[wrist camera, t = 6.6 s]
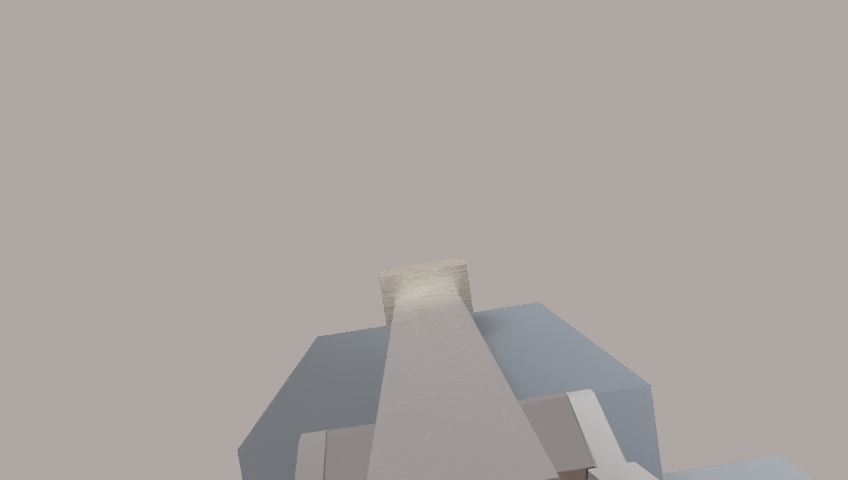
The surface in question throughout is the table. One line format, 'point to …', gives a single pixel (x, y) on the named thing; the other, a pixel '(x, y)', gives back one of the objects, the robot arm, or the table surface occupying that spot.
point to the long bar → (446, 388)
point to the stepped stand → (523, 370)
